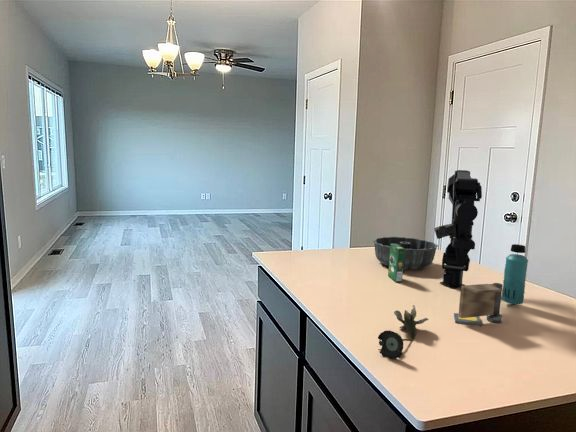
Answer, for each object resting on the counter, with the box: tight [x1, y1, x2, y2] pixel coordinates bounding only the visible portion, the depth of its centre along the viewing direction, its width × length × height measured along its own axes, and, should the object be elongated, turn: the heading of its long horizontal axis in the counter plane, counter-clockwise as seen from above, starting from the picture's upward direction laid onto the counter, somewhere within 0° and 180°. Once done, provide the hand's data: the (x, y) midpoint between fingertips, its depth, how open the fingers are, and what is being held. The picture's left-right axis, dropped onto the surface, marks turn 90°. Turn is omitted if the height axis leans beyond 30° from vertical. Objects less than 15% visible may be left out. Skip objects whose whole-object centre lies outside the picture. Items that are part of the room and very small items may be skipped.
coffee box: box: [387, 243, 405, 283], centre depth 163 cm, size 8×3×13 cm, turn 8°
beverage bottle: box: [501, 243, 529, 305], centre depth 138 cm, size 6×7×20 cm
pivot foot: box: [485, 313, 503, 324], centre depth 127 cm, size 4×4×2 cm
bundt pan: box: [372, 236, 439, 271], centre depth 185 cm, size 26×26×10 cm
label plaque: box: [453, 312, 483, 327], centre depth 126 cm, size 7×6×1 cm
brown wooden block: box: [458, 282, 503, 318], centre depth 122 cm, size 13×7×10 cm, turn 106°
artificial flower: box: [376, 304, 430, 360], centre depth 111 cm, size 9×22×10 cm, turn 143°
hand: (459, 264), depth 141 cm, fingers closed
